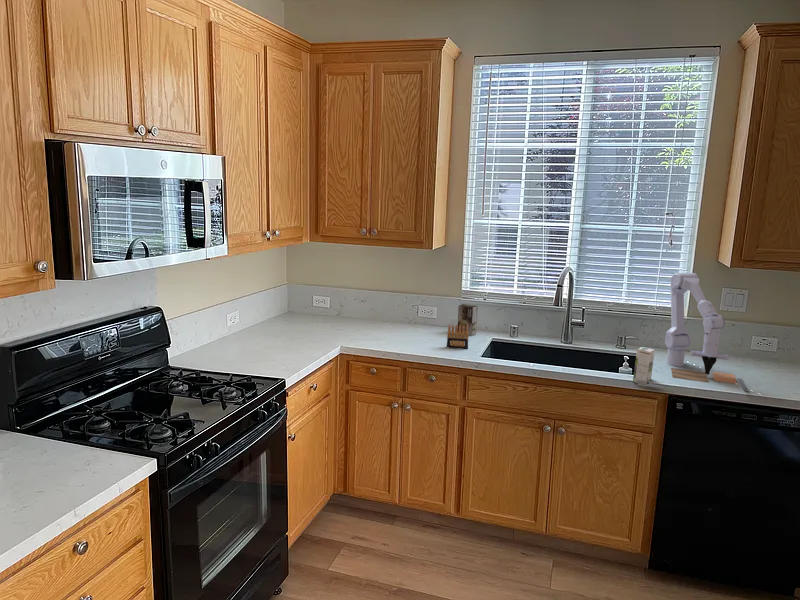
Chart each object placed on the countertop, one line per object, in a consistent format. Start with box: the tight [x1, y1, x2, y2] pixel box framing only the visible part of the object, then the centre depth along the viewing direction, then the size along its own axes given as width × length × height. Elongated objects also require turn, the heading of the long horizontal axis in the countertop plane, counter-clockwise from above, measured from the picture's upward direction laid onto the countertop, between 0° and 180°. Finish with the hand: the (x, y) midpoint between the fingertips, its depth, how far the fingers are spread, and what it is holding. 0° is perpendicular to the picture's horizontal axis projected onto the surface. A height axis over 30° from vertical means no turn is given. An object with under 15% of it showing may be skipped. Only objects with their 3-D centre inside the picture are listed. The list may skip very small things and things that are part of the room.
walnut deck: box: [670, 367, 710, 384], centre depth 253 cm, size 16×14×2 cm
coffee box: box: [457, 303, 478, 337], centre depth 319 cm, size 9×6×16 cm
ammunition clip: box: [446, 324, 469, 350], centre depth 290 cm, size 11×2×12 cm, turn 82°
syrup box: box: [632, 346, 656, 386], centre depth 244 cm, size 6×6×14 cm
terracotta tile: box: [711, 371, 737, 384], centre depth 248 cm, size 7×8×3 cm
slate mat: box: [736, 377, 750, 393], centre depth 248 cm, size 18×14×1 cm
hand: (706, 373), depth 250 cm, fingers closed
